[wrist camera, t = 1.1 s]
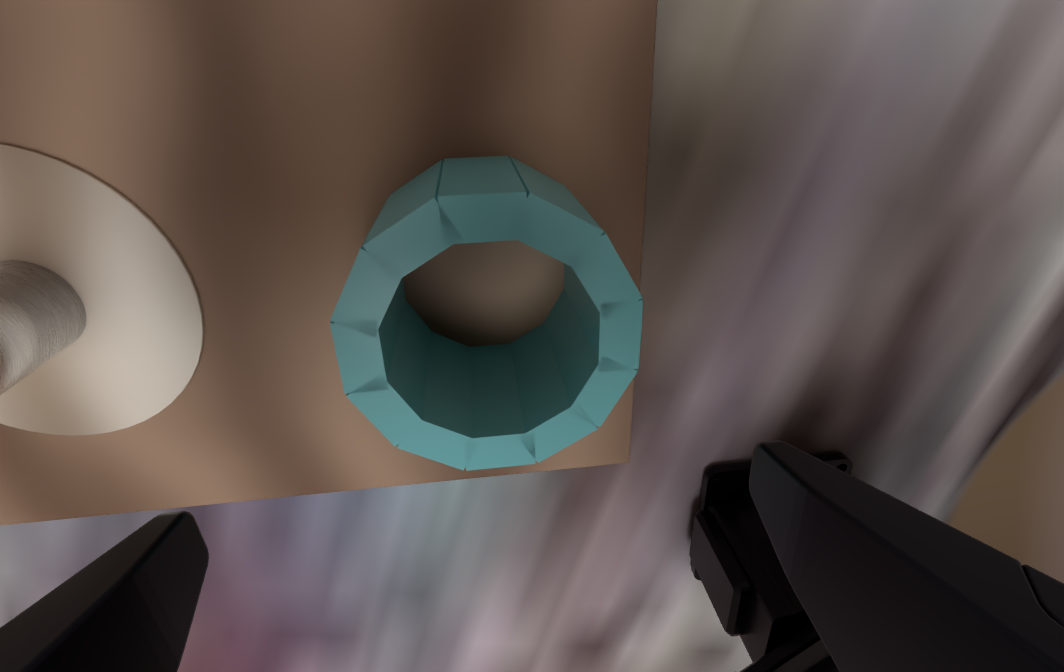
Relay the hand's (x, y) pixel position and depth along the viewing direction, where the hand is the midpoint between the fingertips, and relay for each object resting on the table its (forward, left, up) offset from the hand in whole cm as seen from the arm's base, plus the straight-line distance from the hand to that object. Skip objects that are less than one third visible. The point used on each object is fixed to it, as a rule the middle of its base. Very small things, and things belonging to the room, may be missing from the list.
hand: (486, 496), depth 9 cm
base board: (+7, 0, -11) cm, 13 cm away
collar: (0, 0, -10) cm, 10 cm away
